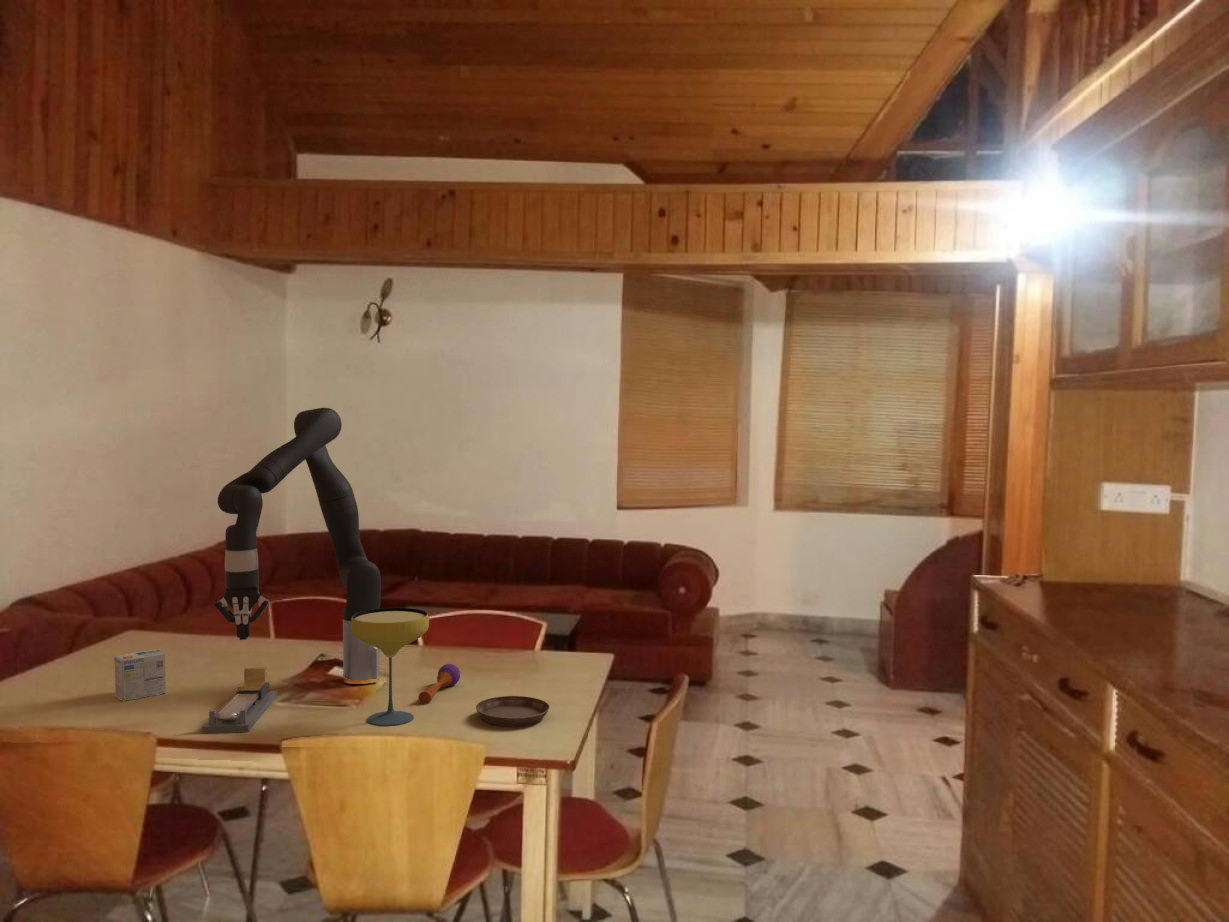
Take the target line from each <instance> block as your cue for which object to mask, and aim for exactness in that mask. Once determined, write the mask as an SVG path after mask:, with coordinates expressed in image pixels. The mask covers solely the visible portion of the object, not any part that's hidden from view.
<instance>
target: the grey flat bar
mask: <svg viewBox="0 0 1229 922" xmlns="http://www.w3.org/2000/svg"><path fill="white" fill-rule="evenodd" d="M257 698H258V694H237V695H236V696H235V697H234V698H233V699H232V700H231V701H230V702H229V703H228V704H227V705H226V706H225V707H224V708H223V709H222V710H221V711H220V712H219V713H218V714H217V721H222V720H238V718H239V717H240V710H241V709H248V708H249V707H250V706H251V705H252V704H253V703H254V702H255V700H256V699H257Z"/></svg>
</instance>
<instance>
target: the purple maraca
mask: <svg viewBox="0 0 1229 922" xmlns="http://www.w3.org/2000/svg"><path fill="white" fill-rule="evenodd" d="M460 679H461V671H460V668H459V667H458V666H457V665H456V664H453V663H445V664H444V665H442V666H441V667H440V668H439V669H438V671H437V677H436V683H434V684H433V685H431V686H429V687H428V688H426V689H424V690H422V691H421V692H419V694H418V701H419V702H420V703H421V704H426V705H427V704H429V703H430V702H431V701H432V700H433V698H434V696H436V694H437V693H438V691H439V689H440V688H441V687H443V688H446V687H453V686H455V685H457V684H458V683H459V681H460Z"/></svg>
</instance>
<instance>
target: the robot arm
mask: <svg viewBox="0 0 1229 922" xmlns="http://www.w3.org/2000/svg"><path fill="white" fill-rule="evenodd" d="M293 429H294V435H295V437H293V438H292V439H290V440H288V442H286V443H284V444H282V445H280V446H279V447H276V448H275V449H273V450H272V451H271V452H269V453H267V455H265V456H264V457H263V458H262V459H261V460H260V461H258V462H257V463H256V464H255V465H254V466H253V467H252V468H251V469H250V470H249V471H247V472H245V473H243V474H242V475H239V476H237V477H236V478H235V479H232V480H231V481H229V482H228V483H227V484H225V485H224V486H223V488H222V489H221V490H220V492H219V493H218V496H217V506H218V507H219V509H220V511H222V513H223V512H224V513H225V514H228V515H237V517H236V521H235V524H231V525H228V526H227V527H226V529H225V533H224V534H225V535H224V537H225V555H224V575H225V577H224V578H225V580H224V581H225V591H224V593H223V597H222V598H221V599H220V600H217V601H216V602H215V603H214V606H215V608H216V609H217V610H218V611H219V613H220V614H221V615H222V616H223V617H224V618H225V619H226V620H227V622H229V623H234V624H235V626H236V636H237V638H238V639H239V641H241V640H243V641H247V640H248V639H249V637H250V636H251V623H253V622H255V621H257V620H258V619H259V618H260V616H261V615H262V614H263V612H264V611H265V610H266V609H267V607H268V606H269V605H270V603H271V600H270V599H269V598H265V597H264V596H263V595H262V592H261V590H260V577H259V573H260V572H259V555H258V545H257V544H258V543H257V541H258V540H257V539H258V538H257V530H258V528H259V525H260V520H261V514H262V511H263V504H264V503H263V501H264V500H263V496H262V494H266V493H269V492H271V491H273V489H274V488H276V487H277V486H278V485H279V484H280V483H281V482H282V481H284V479H285V478H286V477H287V476H288V475H289V474H290V473H291V472H292V471H294V469H295V468H297V467H298V466H300V464H302V463H303V462H305V461H306V465H307V467H308V471H309V473H310V476H311V480H312V482H313V485H314V488H315V489H314V490H315V492H316V496H317V499H318V503H319V507H320V510H321V514H322V516H323V518H324V523H325V525H326V529H327V531H328V535H329V536H330V540H331V541H332V544H333V548H334V554H335V557H336V558H335V559H336V562H337V568H338V569H337V570H338V575H339V579H340V581H341V584H342V585H343V587H344V588H345V589H346V603H345V607H344V608H343V610H342V666H343V667H342V669H343V671H342V678H343V677H345V678H347V679H350V680H368V679H377V677H378V675H379V676H380V649H379V648H377V647H375V646H372V645H370V644H367V643H365V642H363V641H361V640H360V639H358V638H357V637H356V636H355V635H354V634H353V633H352V630H351V619H352V616H353V615H354V614H356V613H359V612H362V611H366V610H372V609H381V608H380V606H381V598H382V597H381V595H382V578H381V572H380V569H379V567H378V566H377V564H375V563H373V562H372V561H369V560H368V556H367V555H366V552H365V550H364V547H363V545H362V542H361V538H360V537H361V536H360V516H359V508H358V505H357V501H356V498H355V494H354V490H353V488H352V486H351V483H350V482H349V481H348V479H347V478H346V476H345V475H344V474H343V473H342V471H340V469H339V468H338V467H337V466H336V464H335V463H334V462H333V460H332V459H331V456H330V455H329V451H328V449H327V445H329V443H331V442H332V441H334V440H336V439H337V438H338V436H339V435H340V433H341V431H342V420H341V416H340V415H339V413H338V412H337V411H336V410H335V409H332V408H330V407H319V408H313V409H306V410H302V411H300V412H299V413H298V414H296V416H295V417H294V421H293ZM257 603H258V608H257V610H256V611H255V612H254V613H253V615H252V612H253V611H252V610H253V608H254V607H255V605H256V604H257ZM228 605H229V607H231V609H233V612H232V610H231V609H229V607H228Z"/></svg>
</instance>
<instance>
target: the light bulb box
mask: <svg viewBox="0 0 1229 922" xmlns="http://www.w3.org/2000/svg"><path fill="white" fill-rule="evenodd" d="M114 680H115V681H114V687H115V689H114V691H115V697H116V696H117V697H119V698H120V699H122V700H129V699H134V700H136V699H135V698H139V699H141V698H140V697H145V698H148V697H147V696H150V697H152V696H151V695H155V696H158V695H157V694H161V695H164V694H163V693H165V694H166V693H167V687H166V653H165V652H164V651H161V650H159V649H157V648H154V649H150V650H149V649H148V650H143V651H136V652H130V653H125V654H119V655H118V654H117V655H114ZM117 697H116V698H117ZM120 699H119V700H120ZM129 701H130V700H129Z"/></svg>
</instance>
